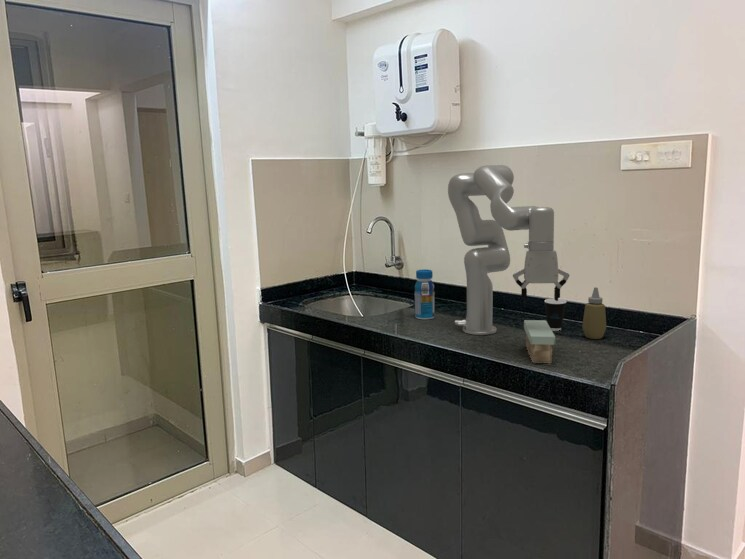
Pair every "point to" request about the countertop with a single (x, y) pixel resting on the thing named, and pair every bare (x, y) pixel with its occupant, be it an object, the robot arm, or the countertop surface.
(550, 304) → the dixie cup
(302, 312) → the countertop surface
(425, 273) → the beverage bottle
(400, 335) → the countertop surface
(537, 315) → the countertop surface
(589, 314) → the squeeze bottle
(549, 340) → the lid
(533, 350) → the box
